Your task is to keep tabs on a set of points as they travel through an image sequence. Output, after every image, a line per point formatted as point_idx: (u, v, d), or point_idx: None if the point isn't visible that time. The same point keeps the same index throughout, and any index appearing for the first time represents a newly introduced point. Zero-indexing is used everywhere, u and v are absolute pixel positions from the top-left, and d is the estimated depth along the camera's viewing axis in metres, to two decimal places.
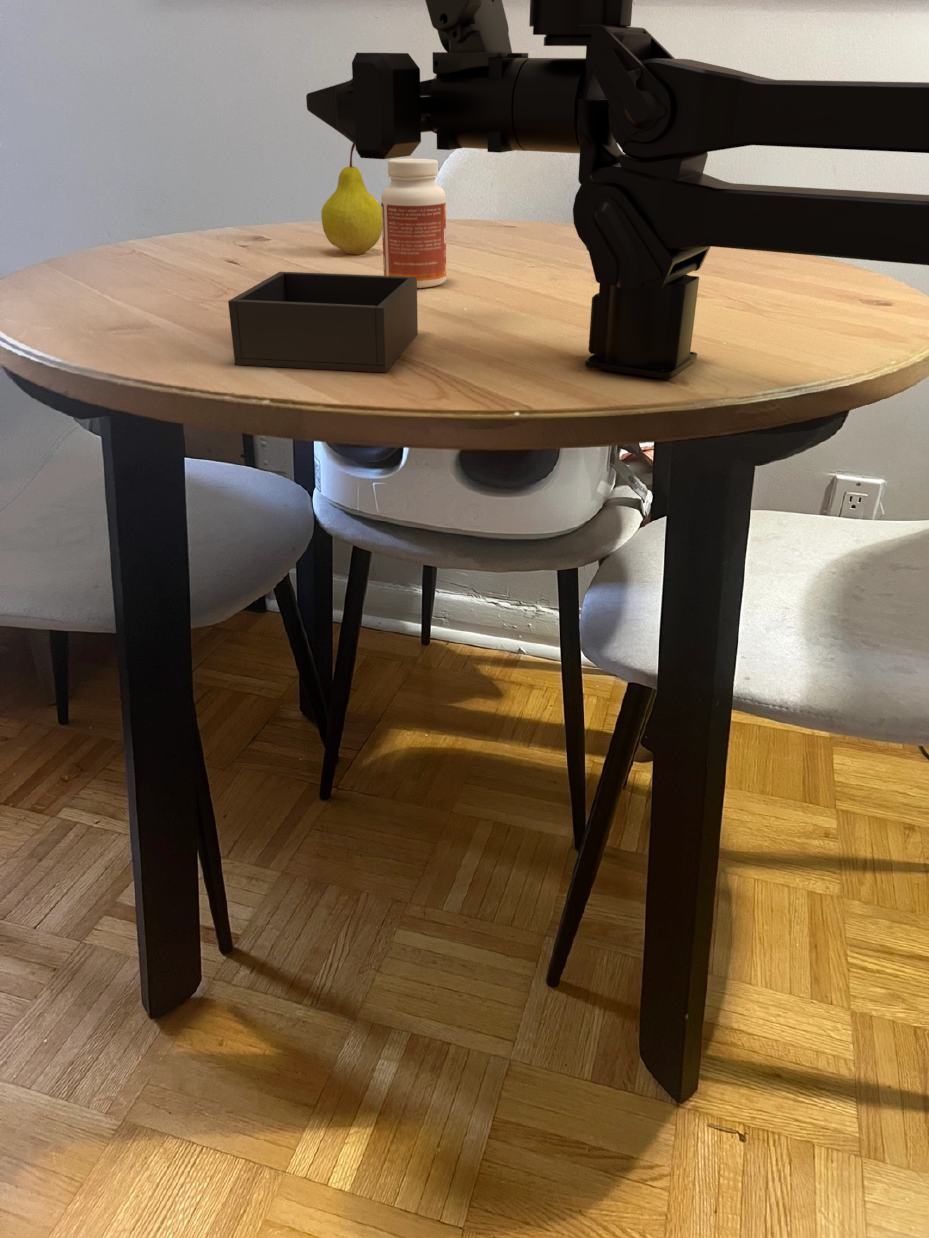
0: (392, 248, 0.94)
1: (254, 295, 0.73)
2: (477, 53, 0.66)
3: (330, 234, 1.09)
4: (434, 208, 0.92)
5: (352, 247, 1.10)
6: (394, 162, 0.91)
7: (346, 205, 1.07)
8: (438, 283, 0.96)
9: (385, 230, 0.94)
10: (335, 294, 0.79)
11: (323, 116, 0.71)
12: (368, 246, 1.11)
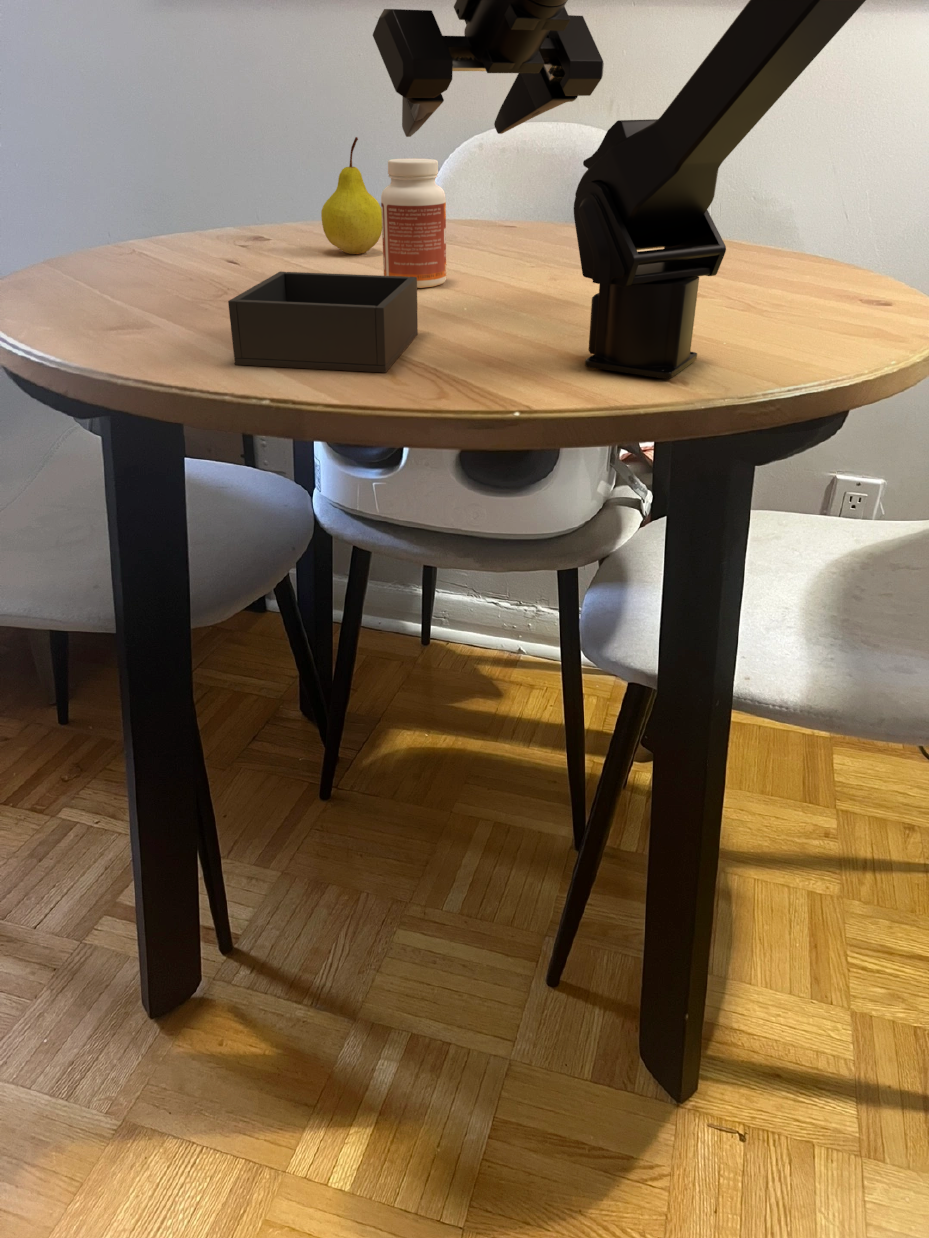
0: (392, 248, 0.94)
1: (254, 295, 0.73)
2: None
3: (330, 234, 1.09)
4: (434, 208, 0.92)
5: (352, 247, 1.10)
6: (394, 162, 0.91)
7: (346, 205, 1.07)
8: (438, 283, 0.96)
9: (385, 230, 0.94)
10: (335, 294, 0.79)
11: (409, 124, 0.81)
12: (368, 246, 1.11)
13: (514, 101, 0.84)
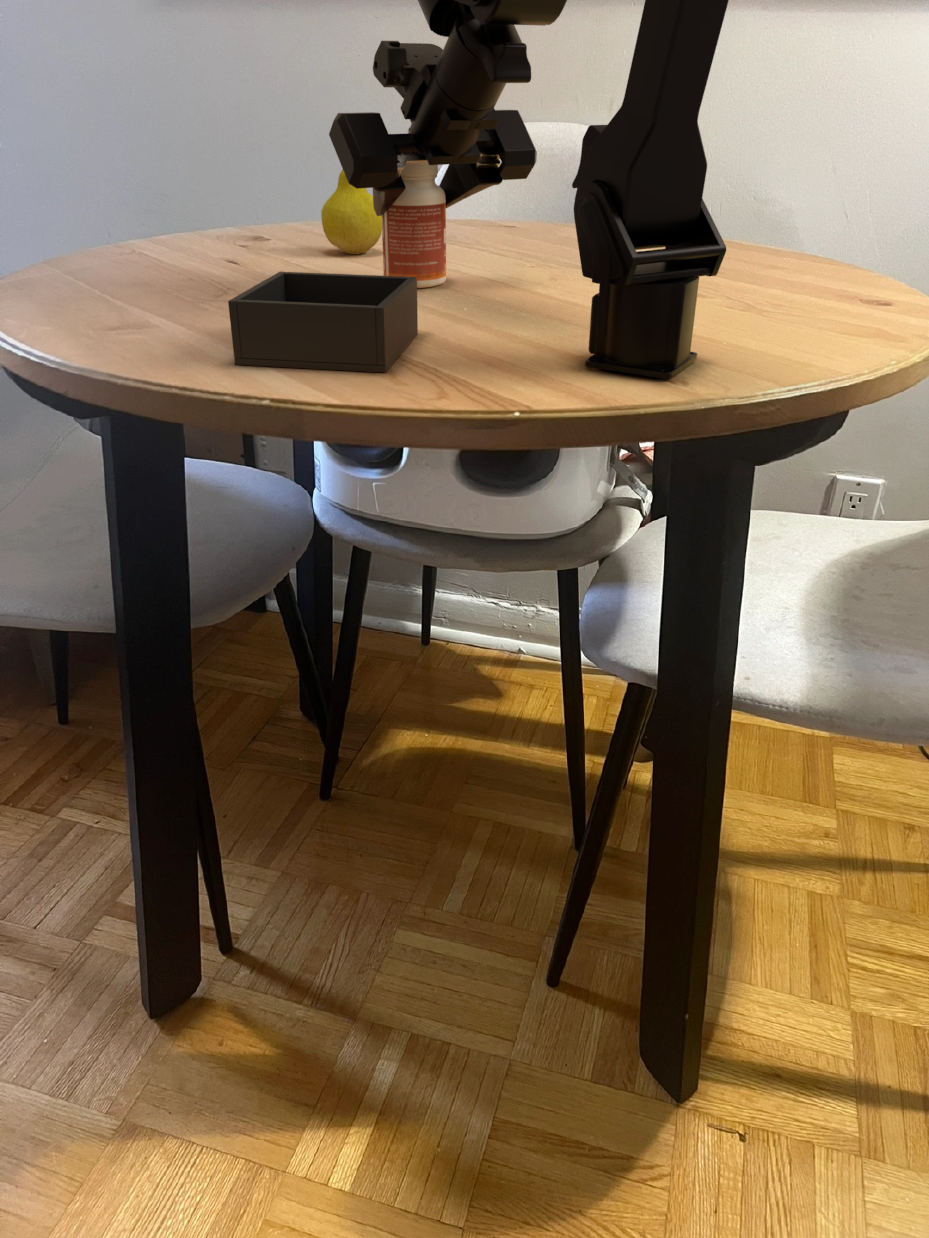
0: (391, 248, 0.94)
1: (254, 295, 0.73)
2: (416, 79, 0.84)
3: (330, 234, 1.09)
4: (434, 208, 0.92)
5: (352, 247, 1.10)
6: None
7: (346, 205, 1.07)
8: (438, 283, 0.96)
9: (385, 230, 0.94)
10: (335, 294, 0.79)
11: (378, 206, 0.92)
12: (368, 246, 1.11)
13: (448, 184, 0.94)
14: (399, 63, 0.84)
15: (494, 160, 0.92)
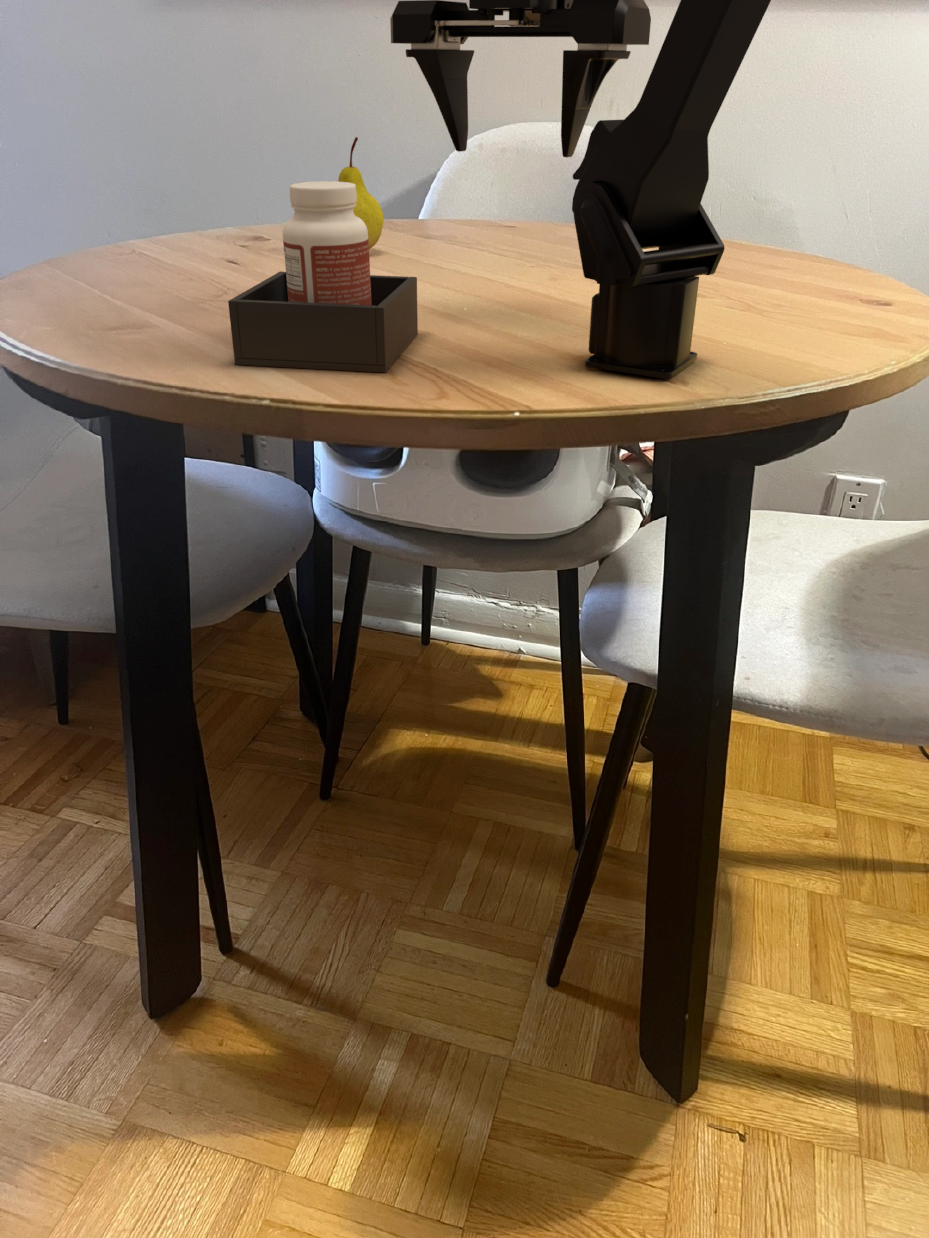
0: (322, 302, 0.71)
1: (254, 295, 0.73)
2: None
3: None
4: (367, 243, 0.71)
5: None
6: (314, 189, 0.68)
7: None
8: None
9: (307, 280, 0.70)
10: None
11: None
12: None
13: None
14: None
15: None
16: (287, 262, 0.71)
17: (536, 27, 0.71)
